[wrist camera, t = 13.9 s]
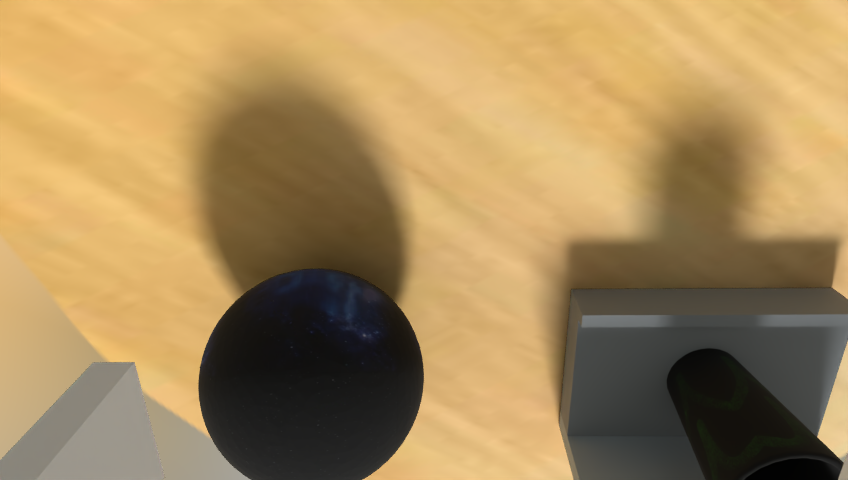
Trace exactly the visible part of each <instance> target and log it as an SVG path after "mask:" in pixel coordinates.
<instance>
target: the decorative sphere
mask: <svg viewBox="0 0 848 480" xmlns="http://www.w3.org/2000/svg"><path fill="white" fill-rule="evenodd" d="M423 382H424V372H423V361H422V355H421V350H420V346H419V343H418V341H417V338H416V335H415V332H414V330H413V328H412V326H411V324H410V322H409V321H408V319H407V318H406V316H405V315H404V313H403V312H402V310H401V309H400V308H399V307H398V306H397V304H396V303H395V302H394V301H393V300H392V299H391V298H390V297H389V296H388V295H386V294H385V293H384V292H383V291H382V290H380V289H379V288H378V287H376V286H374V285H373V284H371V283H369V282H368V281H366V280H364V279H362V278H360V277H357V276H354V275H352V274H348V273H345V272H341V271H336V270H330V269H303V270H296V271H291V272H287V273H283V274H280V275H277V276H275V277H272V278H270V279H268V280H266V281H264V282H262V283H260V284H258V285H257V286H255V287H253V288H252V289H250V290H249V291H247V292H246V293H245V294H244V295H242V296H241V297H240V298H239V299H238V300H237V301H236V302H235V303H234V304H233V305H232V306H231V307H230V308H229V309H228V310H227V311H226V312H225V314H224V315H223V316H222V318H221V319H220V320H219V322H218V323H217V325H216V327H215V328H214V330H213V332H212V334H211V336H210V338H209V340H208V343H207V345H206V348H205V351H204V354H203V357H202V362H201V367H200V373H199V401H200V406H201V411H202V416H203V419H204V422H205V425H206V428H207V430H208V432H209V434H210V436H211V438H212V440H213V442H214V444H215V445H216V447H217V448H218V450H219V451H220V452H221V453H222V455H223V456H224V457H225V458H226V460H227V461H228V462H229V463H230V464H231V465H232V466H233V467H234V468H236V469H237V470H238V471H239V472H241V473H242V474H243V475H245V476H246V477H248V478H249V479H251V480H362V479H364V478H366V477H368V476H369V475H371V474H372V473H374V472H375V471H376V470H377V469H379V468H380V467H381V466H382V465H383V464H385V463H386V462H387V461H388V460H389V459H390V458H391V457H392V456H393V455H394V454H395V452H396V451H397V450H398V448H399V447H400V446H401V444H402V443H403V441H404V440H405V438H406V437H407V435H408V433H409V431H410V430H411V428H412V426H413V423H414V421H415V419H416V416H417V413H418V410H419V407H420V403H421V398H422V392H423Z"/></svg>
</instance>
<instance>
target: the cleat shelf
mask: <svg viewBox="0 0 848 480" xmlns="http://www.w3.org/2000/svg"><path fill="white" fill-rule="evenodd" d="M847 341H848V299H846V298H845V297H844V296H842V295H841V294H840V293H838V292H837V291H836V290H834V289H833V288H698V289H571V297H570V308H569V319H568V331H567V342H566V353H565V364H564V375H563V387H562V398H561V409H560V420H559V427H560V431H561V434H562V438H563V442H564V445H565V449H566V453H567V456H568V460H569V464H570V468H571V471H572V475H573V479H574V480H705V478H704V476H703V473H702V471H701V469H700V466H699V464H698V461H697V459H696V456H695V454H694V452H693V449H692V447H691V444H690V442H689V440H688V437H687V435H686V432H685V430H684V427H683V425H682V423H681V420H680V418H679V415H678V413H677V411H676V408H675V406H674V403H673V401H672V399H671V396H670V394H669V391H668V389H667V377H668V373H669V371H670V369H671V367H672V366H673V365H674V364H675V363H676V361H677V360H679V359H680V358H681V357H683V356H684V355H686V354H688V353H690V352H692V351H695V350H699V349H706V348H713V349H720V350H723V351H725V352H728V353H729V354H730V355H732V356H733V357H734V358H735V359H736V360H737V361H738V362H739V363H741V364H742V365H743V366H744V367H745V368H746V369H747V370H748V371H749V372H750V373H751V374H752V375H753V376H754V377H755V378H756V379H757V380H758V381H759V382H760V383H761V384H762V385H763V386H764V387H765V388H766V389H768V390H769V391H770V392H771V393H772V394H773V395H774V396H775V397H776V398H777V399H778V400H779V401H780V402H781V403H782V404H783V405H784V406H785V407H786V408H787V409H788V410H789V411H790V412H791V413H792V414H793V415H795V416H796V417H797V418H798V419H799V420H800V421H801V422H802V423H803V424H804V425H805V426H806V427H807V428H808V429H809V430H810V431H811V432H812V433H813V434H814V435H815V436H816V437H817V435H818V432H819V429H820V426H821V423H822V420H823V416H824V413H825V410H826V407H827V404H828V401H829V397H830V394H831V391H832V388H833V385H834V382H835V379H836V375H837V372H838V369H839V366H840V363H841V360H842V356H843V353H844V350H845V347H846V344H847Z"/></svg>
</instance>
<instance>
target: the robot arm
mask: <svg viewBox="0 0 848 480" xmlns="http://www.w3.org/2000/svg"><path fill="white" fill-rule="evenodd" d="M164 478H165V476H164V472H163V468H162V464H161V461H160V457H159V453H158V449H157V445H156V442H155V438H154V434H153V430H152V427H151V423H150V420H149V415H148V411H147V408H146V404H145V400H144V396H143V393H142V389H141V385H140V381H139V378H138V374H137V370H136V366H135V362H94V363H92V364H91V365H90V366H89V367H88V368H87V369H86V370H85V372H84V373H83V374H82V375H81V376H80V377H79V378H78V379H77V380H76V381H75V382H74V383H73V384H72V385H71V386H70V387H69V388H68V389H67V390H66V391H65V393H64V394H63V395H62V396H61V397H60V398H59V399H58V400H57V401H56V402H55V403H54V404H53V405H52V406H51V407H50V408H49V410H47V411H46V412H45V414H44V415H43V416H42V417H41V418H40V419H39V420H38V421H37V422H36V423H35V424H34V425H33V426H32V427H31V428H30V429H29V430H28V431H27V432H26V434H25V435H24V436H23V437H22V438H21V439H20V440H19V441H18V442H17V443H16V444H15V445H14V446H13V447H12V448H11V449H10V450H9V451H8V452H7V453H6V455H5V456H4V457H3V458H2V459H1V460H0V480H164ZM838 480H848V453H847V455H846V458H845V462H844V464H843V467H842V470H841V473H840V475H839V478H838Z"/></svg>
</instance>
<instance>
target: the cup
mask: <svg viewBox="0 0 848 480" xmlns="http://www.w3.org/2000/svg"><path fill="white" fill-rule="evenodd" d="M667 389H668V391H669V394H670V396H671V399H672V401H673V403H674V406H675V408H676V411H677V413H678V415H679V418H680V420H681V423H682V425H683V427H684V430H685V432H686V435H687V437H688V440H689V442H690V444H691V447H692V449H693V452H694V454H695V456H696V459H697V461H698V464H699V466H700V469H701V471H702V473H703V476H704V478H705V480H838V478H839V475H840V473H841V470H842V467H843V464H844V463H843V462H842V461H841V460H840V459H839V458H838V457H837V456H836V455H835V454H834V453H833V452H832V451H831V450H830V449H829V448H828V447H827V446H826V445H825V444H824V443H823V442H822V441H820V440H819V439H818V438H817V437H816V436H815V435H814V434H813V433H812V432H811V431H810V430H809V429H808V428H807V427H806V426H805V425H804V424H803V423H802V422H801V421H800V420H799V419H798V418H797V417H796V416H795V415H793V414H792V413H791V412H790V411H789V410H788V409H787V408H786V407H785V406H784V405H783V404H782V403H781V402H780V401H779V400H778V399H777V398H776V397H775V396H774V395H773V394H772V393H771V392H770V391H769V390H768V389H766V388H765V387H764V386H763V385H762V384H761V383H760V382H759V381H758V380H757V379H756V378H755V377H754V376H753V375H752V374H751V373H750V372H749V371H748V370H747V369H746V368H745V367H744V366H743V365H742V364H741V363H739V362H738V361H737V360H736V359H735V358H734V357H733V356H732V355H730V354H729V353H728V352H725V351H723V350H720V349H713V348H706V349H699V350H695V351H692V352H690V353H688V354H686V355H684V356H683V357H681V358H680V359H679V360H677V361H676V363H675V364H674V365H673V366H672V367H671V369H670V371H669V373H668V377H667Z"/></svg>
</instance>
